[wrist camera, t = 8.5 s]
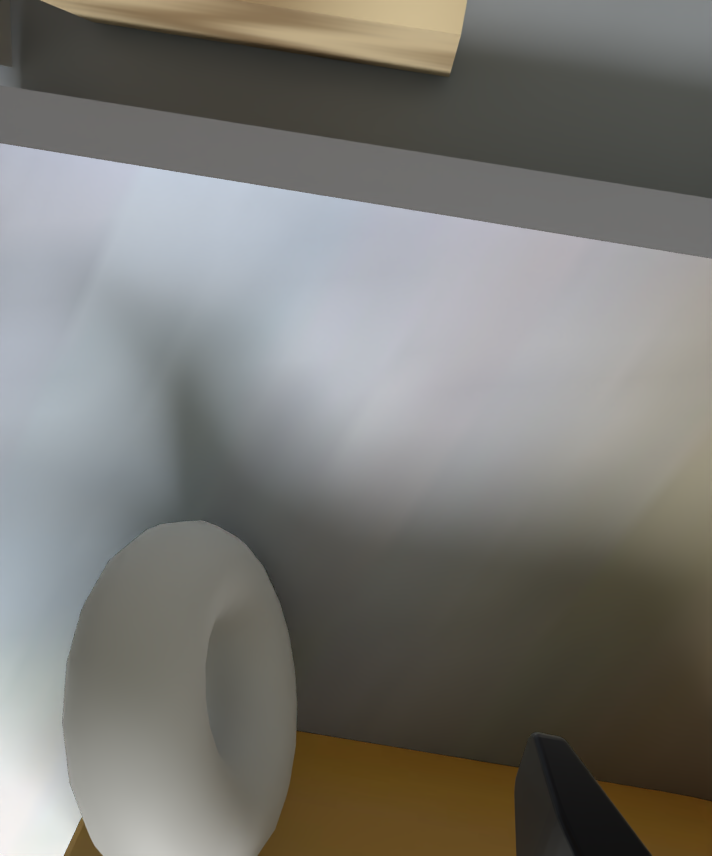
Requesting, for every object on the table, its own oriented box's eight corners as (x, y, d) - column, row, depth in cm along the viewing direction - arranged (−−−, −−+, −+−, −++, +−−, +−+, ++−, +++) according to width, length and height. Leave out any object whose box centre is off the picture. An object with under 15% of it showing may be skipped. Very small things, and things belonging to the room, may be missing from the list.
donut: (149, 476, 23) (-40, 691, 14) (244, 455, 22) (113, 666, 13) (242, 703, 26) (142, 999, 17) (327, 691, 26) (270, 992, 16)
